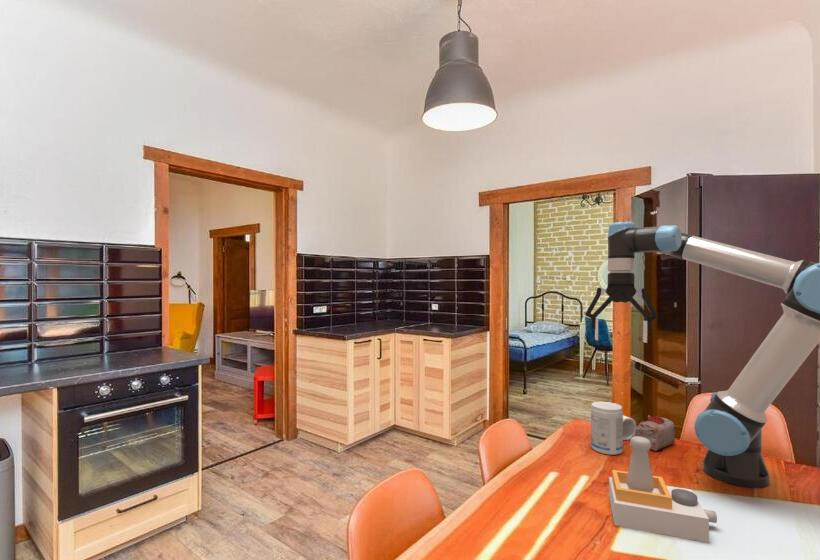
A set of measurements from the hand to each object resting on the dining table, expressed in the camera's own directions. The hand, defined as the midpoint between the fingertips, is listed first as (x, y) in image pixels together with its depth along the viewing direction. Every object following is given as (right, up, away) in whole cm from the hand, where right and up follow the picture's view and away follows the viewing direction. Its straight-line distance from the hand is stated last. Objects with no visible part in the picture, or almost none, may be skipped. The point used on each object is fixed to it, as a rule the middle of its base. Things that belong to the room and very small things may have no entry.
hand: (620, 340), depth 134 cm
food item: (+18, -37, +12) cm, 43 cm away
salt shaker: (-11, -32, -32) cm, 47 cm away
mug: (+7, -37, +20) cm, 43 cm away
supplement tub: (-1, -37, +7) cm, 38 cm away
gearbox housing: (-7, -36, -34) cm, 50 cm away
